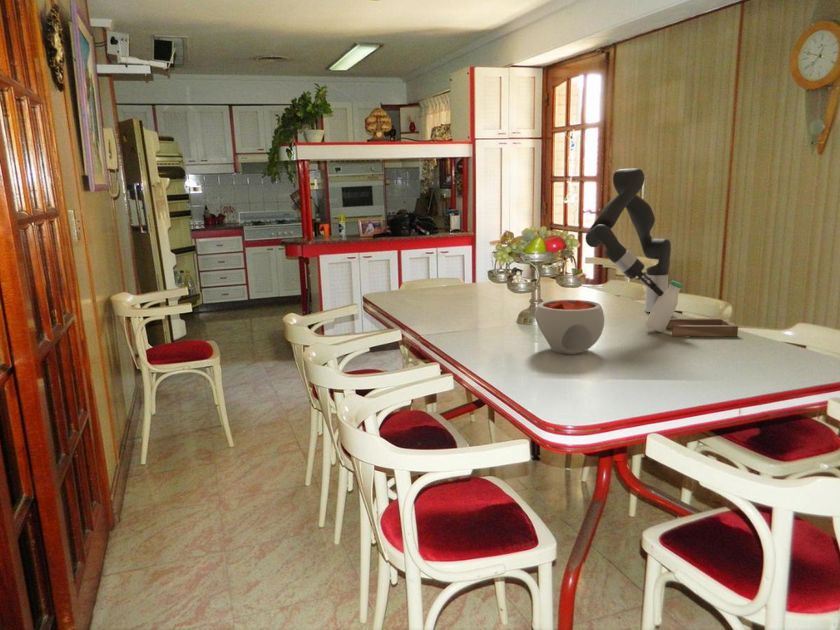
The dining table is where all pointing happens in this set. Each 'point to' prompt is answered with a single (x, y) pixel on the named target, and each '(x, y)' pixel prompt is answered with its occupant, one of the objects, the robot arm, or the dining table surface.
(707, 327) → the walnut U-rest
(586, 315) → the pot
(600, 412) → the dining table surface
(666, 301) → the milk bottle
